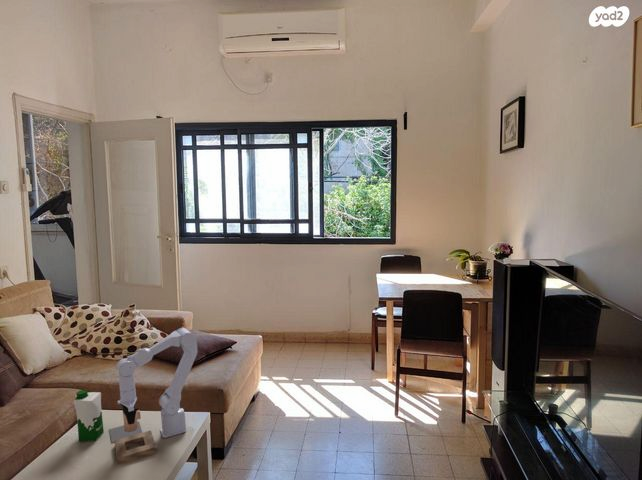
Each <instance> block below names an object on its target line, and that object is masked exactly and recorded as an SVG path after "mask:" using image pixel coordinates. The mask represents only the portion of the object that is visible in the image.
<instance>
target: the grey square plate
mask: <svg viewBox="0 0 642 480" xmlns="http://www.w3.org/2000/svg"><path fill="white" fill-rule="evenodd" d="M137 423H138V428H137V429H136V430H135V431H132V432H126V431H125V430H124V424H123V425H121V426H117V427H112V428H109V435H110V436H109V437H110V441H111V444H115V442H114V440H118V439H121V438H125V437H129V436H132V435H136V434H139V433H143V430H142V426H141V424H140V421H137Z"/></svg>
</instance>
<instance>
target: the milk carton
mask: <svg viewBox="0 0 642 480" xmlns="http://www.w3.org/2000/svg"><path fill="white" fill-rule="evenodd" d="M73 405H74V408H75V412H76V414H75V415H76V422H77V423H76V424H77V437H78V442H96V441H97V440H98V439H99V438H100V437H101V436H102V435H103V434H104V421H103V412H102V392H97V391H93V392H91V391H90V392H88V390H87V389H81V390H78V391H77V392H76V397H75V399H74V400H73Z"/></svg>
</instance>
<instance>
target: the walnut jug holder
mask: <svg viewBox="0 0 642 480" xmlns="http://www.w3.org/2000/svg"><path fill="white" fill-rule="evenodd" d="M114 442H115V443H114V447H115V455H116V460H117V465H121V464H123V463H127V462H131V461H134V460H137V459H141V458H144V457H147V456H148V457H149V456H152V455H153V454H154V455H155V454H157V453H158V452H157V449H158V448H157V445H156V441H155V438H154V435H153V432H152V430H148V431H147V430H146V431H145V432H144V431H142V433H139V434H136V435H132V436H129V437H125V438H121V439H118V440H114ZM139 444H144V445H142V446H137V447H135V448H130V449H128V450H127V448H129V447H132V446H133V447H134V446H136V445H139Z"/></svg>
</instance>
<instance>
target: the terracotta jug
mask: <svg viewBox="0 0 642 480" xmlns="http://www.w3.org/2000/svg"><path fill="white" fill-rule="evenodd" d="M141 416H142V415H141V410H140V409H139V410H137V412H136V415H135V422H134V424H130V425H129V424H128V421H127V418H126V415H125V414H124V412H123V411H122V417H123V419H122V420H123V425H124V430H125V431H126V432H132V431H135V430H136V429H137V428H138V423H137V422H138V420H141V419H142V418H141Z"/></svg>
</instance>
